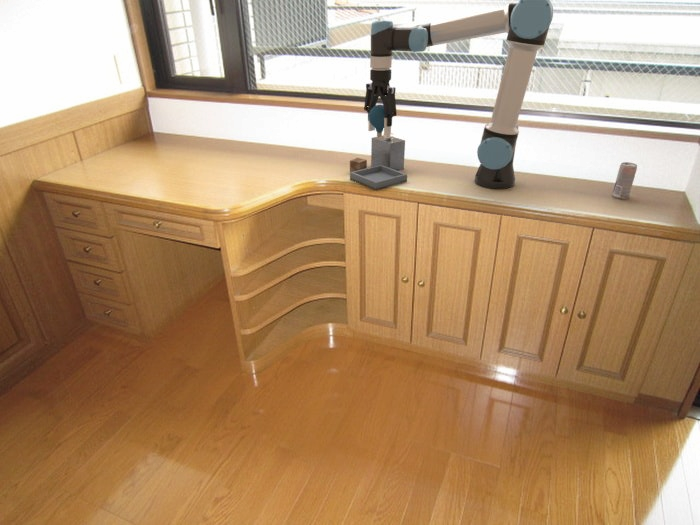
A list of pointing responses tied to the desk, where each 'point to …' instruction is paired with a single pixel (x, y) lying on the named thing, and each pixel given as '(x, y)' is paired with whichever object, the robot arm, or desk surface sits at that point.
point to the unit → (388, 152)
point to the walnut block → (358, 164)
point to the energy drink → (624, 180)
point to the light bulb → (377, 118)
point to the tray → (378, 177)
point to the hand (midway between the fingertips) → (379, 132)
